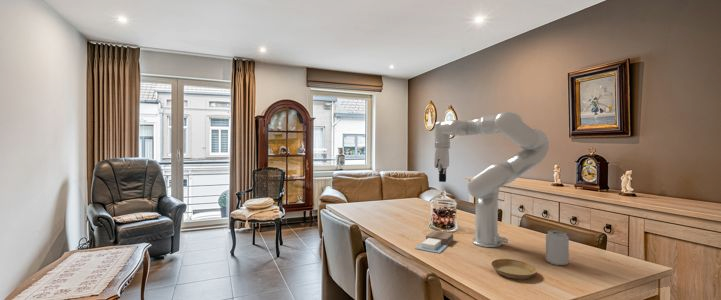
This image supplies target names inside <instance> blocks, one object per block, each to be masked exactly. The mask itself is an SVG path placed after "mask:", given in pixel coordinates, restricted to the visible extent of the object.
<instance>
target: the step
mask: <svg viewBox="0 0 721 300" xmlns="http://www.w3.org/2000/svg"><path fill="white" fill-rule="evenodd" d="M428 238H432V239H439V240H441V244H442V245H450V244H451V243H452V242H453V241H454V233H449V232H444V231H443V232H442V231H435V230H432V231H431V232H430V233H428V234H426V235H425V240H426V239H428Z"/></svg>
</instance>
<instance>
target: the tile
mask: <svg viewBox="0 0 721 300" xmlns="http://www.w3.org/2000/svg"><path fill="white" fill-rule="evenodd" d="M420 244H421V248H427V249H432V250H435V249H436V248H437V247H439V246H440V245H441V240H439V239H432V238H428V239H426V238H425V240H424V241H422V242H421V243H420Z"/></svg>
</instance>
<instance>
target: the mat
mask: <svg viewBox="0 0 721 300" xmlns="http://www.w3.org/2000/svg"><path fill="white" fill-rule="evenodd" d="M448 245H449V244H448ZM448 245H442V244H441V245H440V246H439V247H437V248H436V249H435V250H432V249H427V248H421V243H420V244H419V245H418V246H416V247H415V248H414V249H415V250H418V251H422V252H423V251H425V252H430V253H434V254H441V253H442V252H443V251H444V250H445V249H446V248H447V247H448Z"/></svg>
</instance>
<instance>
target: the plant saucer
mask: <svg viewBox="0 0 721 300" xmlns="http://www.w3.org/2000/svg"><path fill="white" fill-rule="evenodd" d="M490 265H491V266H492V269H493V270H494V271H496V273H498V274H499V275H500V276H503V277H504V278H508V279H512V280H527V279H529V278H532V276H534V275H535V274H536V273H537V272H538V269H537V268H536V266H534V265H532V264H531V263H528V262H525V261H521V260H517V259H512V258H499V259H494V260H492V261H491V262H490Z"/></svg>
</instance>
